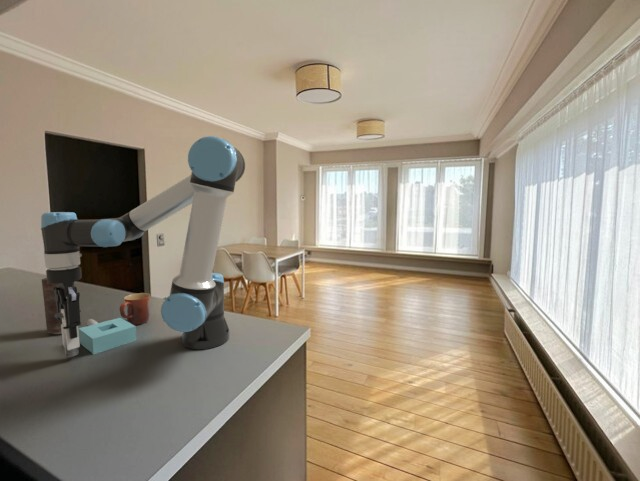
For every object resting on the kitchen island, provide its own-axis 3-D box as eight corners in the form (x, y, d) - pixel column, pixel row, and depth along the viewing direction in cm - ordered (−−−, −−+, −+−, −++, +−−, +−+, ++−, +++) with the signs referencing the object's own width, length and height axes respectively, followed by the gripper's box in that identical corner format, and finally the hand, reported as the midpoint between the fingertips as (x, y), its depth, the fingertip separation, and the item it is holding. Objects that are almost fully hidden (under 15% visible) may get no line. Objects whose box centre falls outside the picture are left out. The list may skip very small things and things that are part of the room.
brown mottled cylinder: (43, 338, 100) (37, 279, 98) (50, 329, 106) (45, 274, 104) (72, 334, 103) (67, 277, 101) (77, 326, 110) (73, 272, 107)
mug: (137, 316, 120) (136, 292, 119) (156, 319, 118) (155, 294, 117) (111, 328, 108) (110, 301, 107) (132, 331, 107) (130, 303, 106)
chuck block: (136, 340, 100) (135, 326, 99) (93, 354, 90) (92, 338, 90) (109, 323, 113) (108, 311, 112) (69, 334, 103) (68, 320, 102)
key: (82, 349, 90) (78, 304, 89) (86, 352, 89) (81, 306, 87) (57, 357, 86) (52, 310, 84) (61, 360, 84) (56, 312, 82)
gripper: (90, 268, 82) (97, 349, 85) (71, 261, 92) (77, 334, 95) (55, 273, 76) (63, 360, 79) (38, 265, 86) (46, 343, 88)
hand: (71, 346), depth 87 cm, fingers closed on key, 3 cm apart
